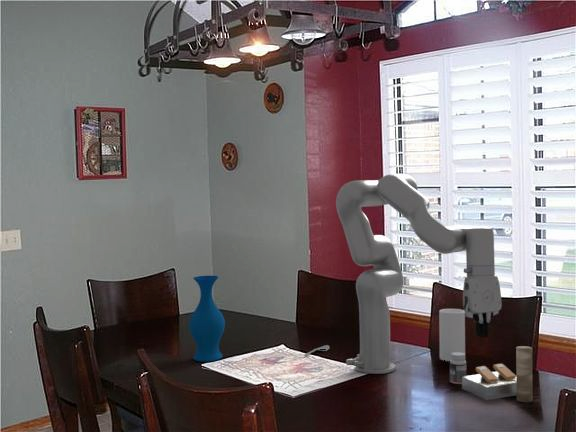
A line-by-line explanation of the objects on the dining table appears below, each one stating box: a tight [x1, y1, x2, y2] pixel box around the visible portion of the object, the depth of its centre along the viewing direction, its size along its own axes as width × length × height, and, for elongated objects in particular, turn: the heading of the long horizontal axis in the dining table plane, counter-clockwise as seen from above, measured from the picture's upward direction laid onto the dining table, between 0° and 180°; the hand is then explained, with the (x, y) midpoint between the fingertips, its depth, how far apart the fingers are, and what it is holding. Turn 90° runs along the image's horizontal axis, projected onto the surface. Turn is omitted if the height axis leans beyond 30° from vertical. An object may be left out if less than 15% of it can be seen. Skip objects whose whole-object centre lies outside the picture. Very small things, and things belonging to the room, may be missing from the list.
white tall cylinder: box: [438, 308, 466, 362], centre depth 220 cm, size 8×8×16 cm
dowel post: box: [515, 345, 534, 403], centre depth 176 cm, size 4×4×14 cm
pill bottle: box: [449, 352, 467, 385], centre depth 194 cm, size 5×5×8 cm
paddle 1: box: [475, 365, 498, 383], centre depth 183 cm, size 3×6×1 cm, turn 21°
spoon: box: [303, 344, 330, 357], centre depth 230 cm, size 4×21×2 cm, turn 140°
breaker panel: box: [461, 370, 517, 401], centre depth 185 cm, size 14×11×4 cm
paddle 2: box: [492, 363, 516, 380], centre depth 186 cm, size 3×6×1 cm, turn 21°
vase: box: [188, 275, 226, 363], centre depth 226 cm, size 12×13×28 cm
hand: (482, 336), depth 185 cm, fingers closed
